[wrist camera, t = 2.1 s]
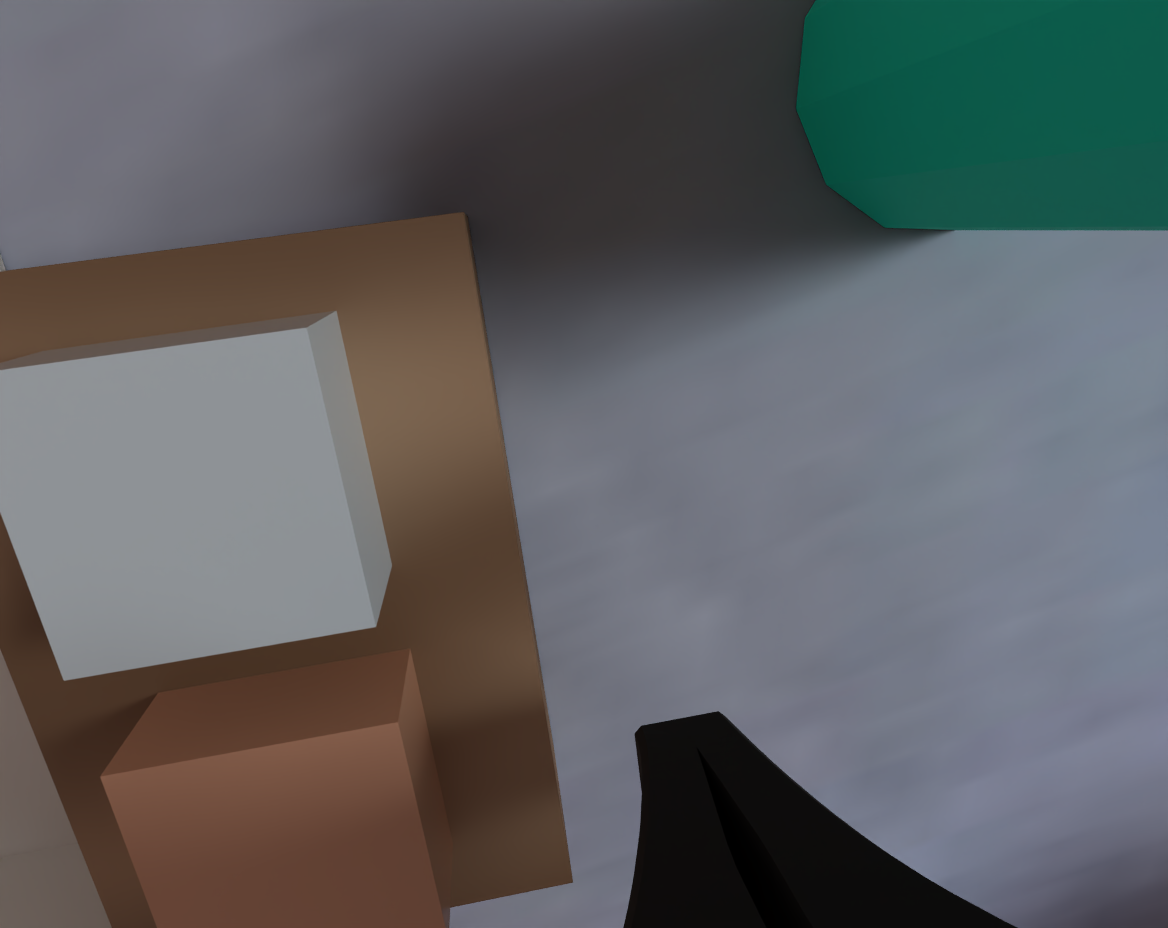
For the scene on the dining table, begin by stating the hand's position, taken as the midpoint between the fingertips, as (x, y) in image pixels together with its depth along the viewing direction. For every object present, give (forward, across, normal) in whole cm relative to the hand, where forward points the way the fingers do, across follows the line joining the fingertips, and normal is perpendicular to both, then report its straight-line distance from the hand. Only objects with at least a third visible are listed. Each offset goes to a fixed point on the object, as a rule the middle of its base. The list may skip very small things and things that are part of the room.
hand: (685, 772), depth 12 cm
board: (+6, +6, -2) cm, 9 cm away
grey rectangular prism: (+2, +6, -5) cm, 8 cm away
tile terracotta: (+2, +6, 0) cm, 6 cm away
